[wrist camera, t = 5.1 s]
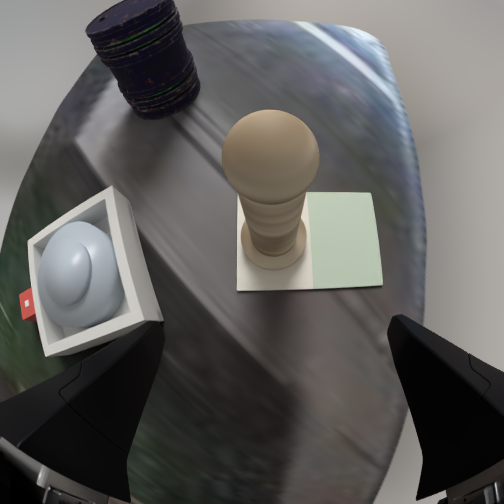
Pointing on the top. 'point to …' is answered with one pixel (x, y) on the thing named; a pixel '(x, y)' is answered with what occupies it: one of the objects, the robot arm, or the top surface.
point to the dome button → (80, 277)
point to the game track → (323, 247)
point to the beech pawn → (271, 183)
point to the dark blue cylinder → (147, 56)
